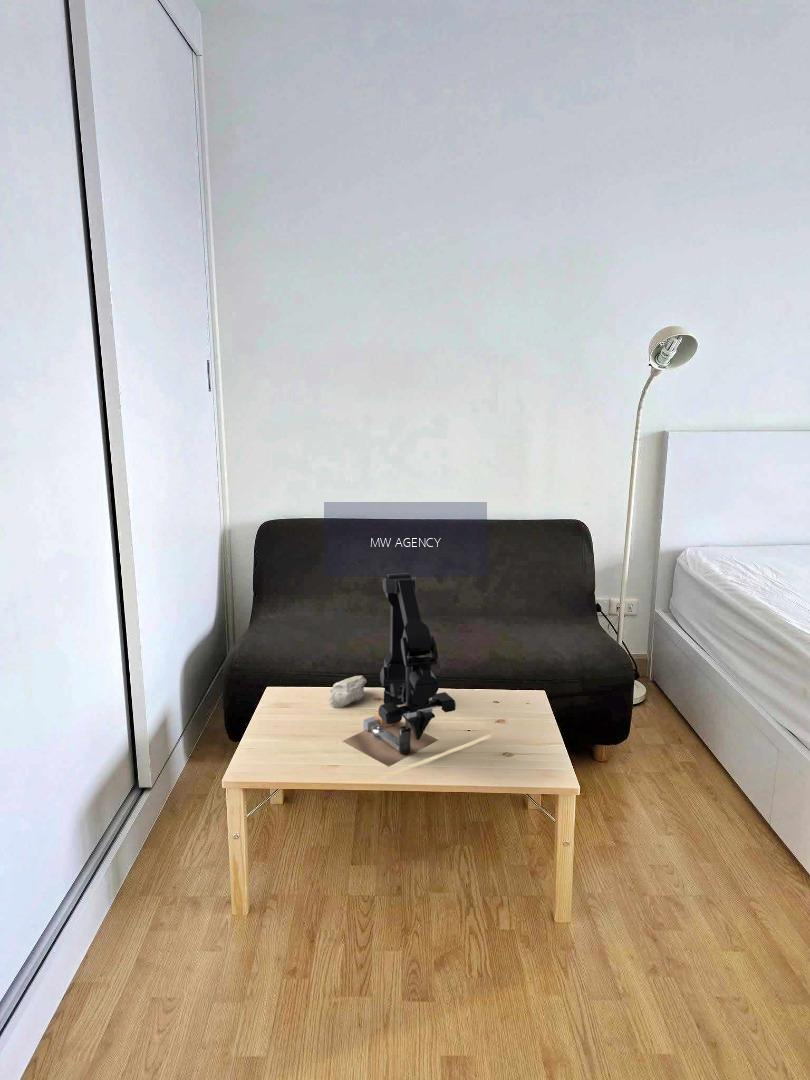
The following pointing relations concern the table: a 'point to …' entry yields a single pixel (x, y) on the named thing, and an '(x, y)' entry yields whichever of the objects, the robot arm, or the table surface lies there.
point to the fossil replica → (347, 691)
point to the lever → (390, 735)
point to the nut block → (381, 720)
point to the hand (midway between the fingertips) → (417, 739)
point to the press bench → (382, 749)
